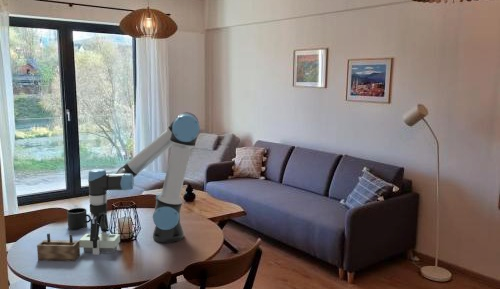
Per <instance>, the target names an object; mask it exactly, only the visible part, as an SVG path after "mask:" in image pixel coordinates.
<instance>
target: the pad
mask: <svg viewBox="0 0 500 289" xmlns="http://www.w3.org/2000/svg"><path fill="white" fill-rule="evenodd" d="M117 246H118V245H117ZM117 246H116V247H115V248H99V253H110V254H113V253H115V252H116V251H117V250H118V248H117ZM83 253H93V248H83Z"/></svg>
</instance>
